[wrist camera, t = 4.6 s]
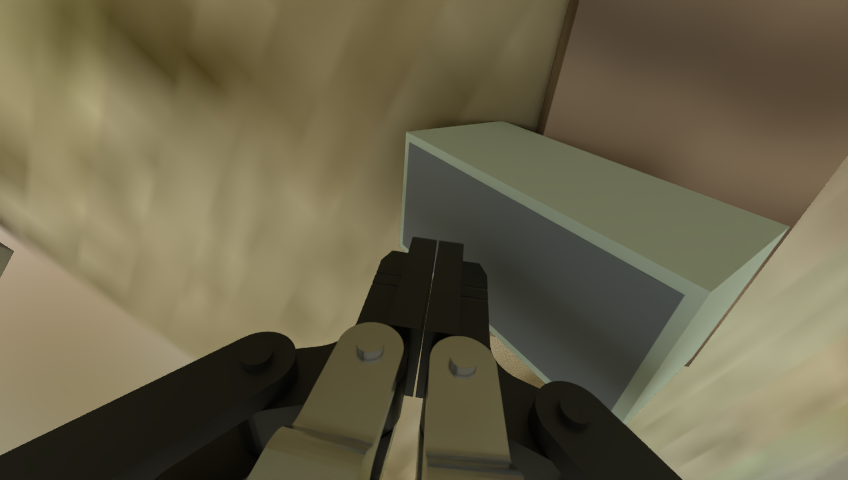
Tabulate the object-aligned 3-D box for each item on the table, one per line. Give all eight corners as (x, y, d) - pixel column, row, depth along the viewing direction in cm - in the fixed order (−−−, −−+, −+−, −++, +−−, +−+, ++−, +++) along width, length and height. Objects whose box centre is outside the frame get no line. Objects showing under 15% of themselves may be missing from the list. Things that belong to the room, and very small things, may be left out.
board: (588, -72, 12) (601, -82, 11) (941, -41, 11) (1000, -48, 10) (488, 317, 22) (489, 335, 20) (675, 345, 21) (688, 366, 20)
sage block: (405, 131, 13) (709, 293, 6) (502, 120, 16) (790, 226, 9) (398, 246, 16) (606, 443, 9) (482, 220, 18) (691, 358, 12)
